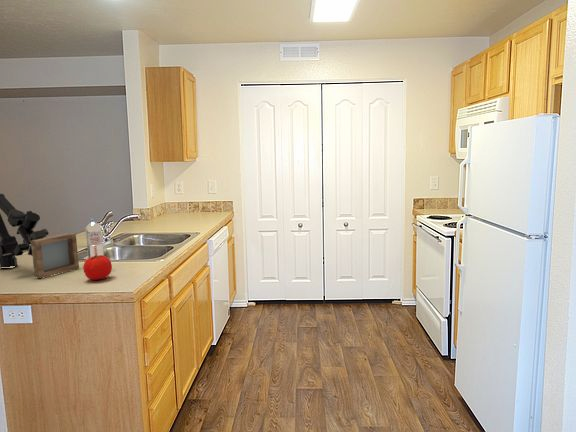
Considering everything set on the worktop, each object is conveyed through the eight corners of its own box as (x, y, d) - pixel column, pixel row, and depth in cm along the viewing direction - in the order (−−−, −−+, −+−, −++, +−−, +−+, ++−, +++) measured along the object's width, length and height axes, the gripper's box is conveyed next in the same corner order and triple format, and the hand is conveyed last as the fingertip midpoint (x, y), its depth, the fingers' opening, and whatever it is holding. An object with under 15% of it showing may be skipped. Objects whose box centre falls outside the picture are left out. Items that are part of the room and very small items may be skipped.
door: (33, 275, 207) (30, 241, 205) (66, 267, 222) (63, 235, 220) (37, 276, 206) (33, 242, 204) (70, 267, 221) (67, 235, 218)
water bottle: (107, 268, 218) (102, 217, 214) (101, 272, 211) (97, 219, 208) (93, 269, 218) (88, 218, 214) (87, 273, 211) (82, 220, 207)
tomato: (104, 274, 207) (102, 250, 206) (117, 278, 200) (115, 253, 199) (79, 280, 198) (76, 255, 197) (92, 284, 191) (89, 259, 190)
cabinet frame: (35, 278, 204) (30, 240, 202) (73, 267, 222) (70, 233, 219) (40, 279, 203) (36, 241, 200) (79, 268, 220) (75, 233, 218)
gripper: (14, 227, 203) (31, 253, 199) (53, 221, 219) (69, 245, 215) (6, 242, 208) (23, 268, 204) (44, 236, 224) (60, 259, 220)
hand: (45, 260), depth 211 cm, fingers closed, pressing on door
